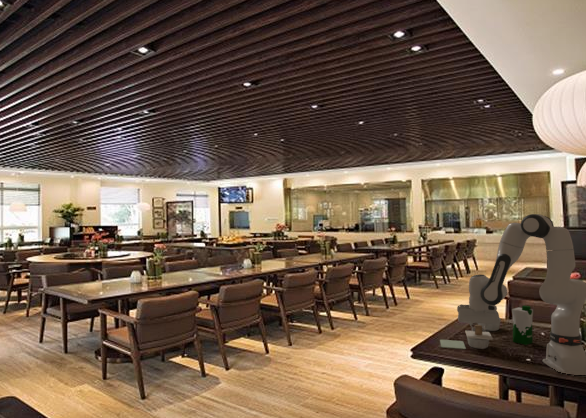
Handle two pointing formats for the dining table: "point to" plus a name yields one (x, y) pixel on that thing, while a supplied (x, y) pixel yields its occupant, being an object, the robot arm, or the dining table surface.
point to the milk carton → (522, 325)
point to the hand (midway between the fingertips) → (478, 331)
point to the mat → (452, 344)
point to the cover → (478, 333)
